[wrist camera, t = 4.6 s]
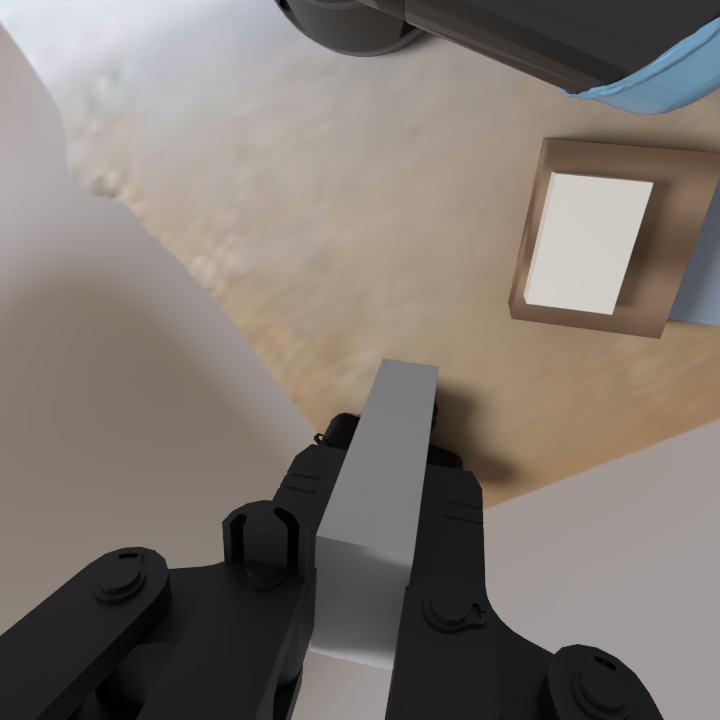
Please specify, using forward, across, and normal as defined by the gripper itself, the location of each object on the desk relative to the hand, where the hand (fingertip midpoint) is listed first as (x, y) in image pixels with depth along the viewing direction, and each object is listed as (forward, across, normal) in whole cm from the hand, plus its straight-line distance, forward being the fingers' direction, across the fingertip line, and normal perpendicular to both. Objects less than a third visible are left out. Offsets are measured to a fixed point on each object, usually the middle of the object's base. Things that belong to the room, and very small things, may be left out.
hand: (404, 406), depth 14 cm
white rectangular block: (+27, +10, 0) cm, 28 cm away
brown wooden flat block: (+31, +12, 0) cm, 33 cm away
